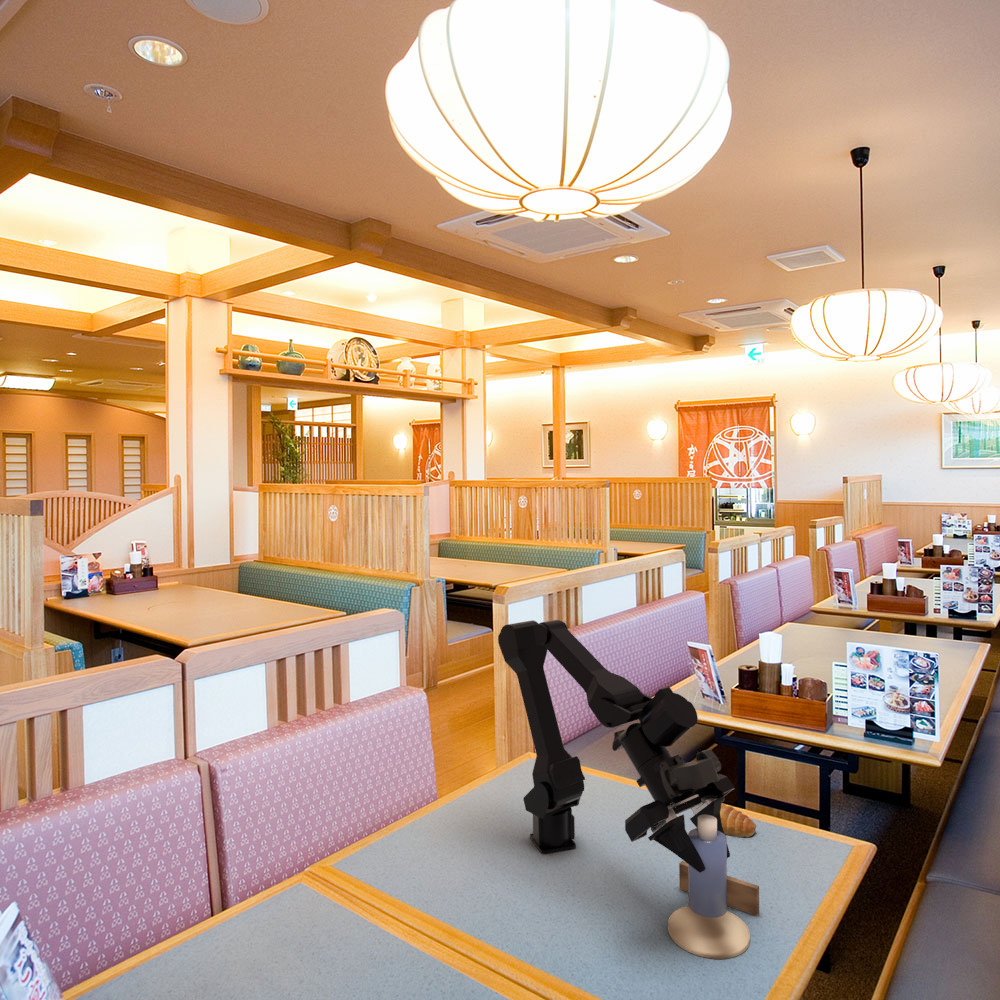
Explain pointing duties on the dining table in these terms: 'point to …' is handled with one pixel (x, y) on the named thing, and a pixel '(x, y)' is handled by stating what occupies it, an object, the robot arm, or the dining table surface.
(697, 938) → the disc
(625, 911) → the dining table surface
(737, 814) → the pastry
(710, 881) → the soy bottle
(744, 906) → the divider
